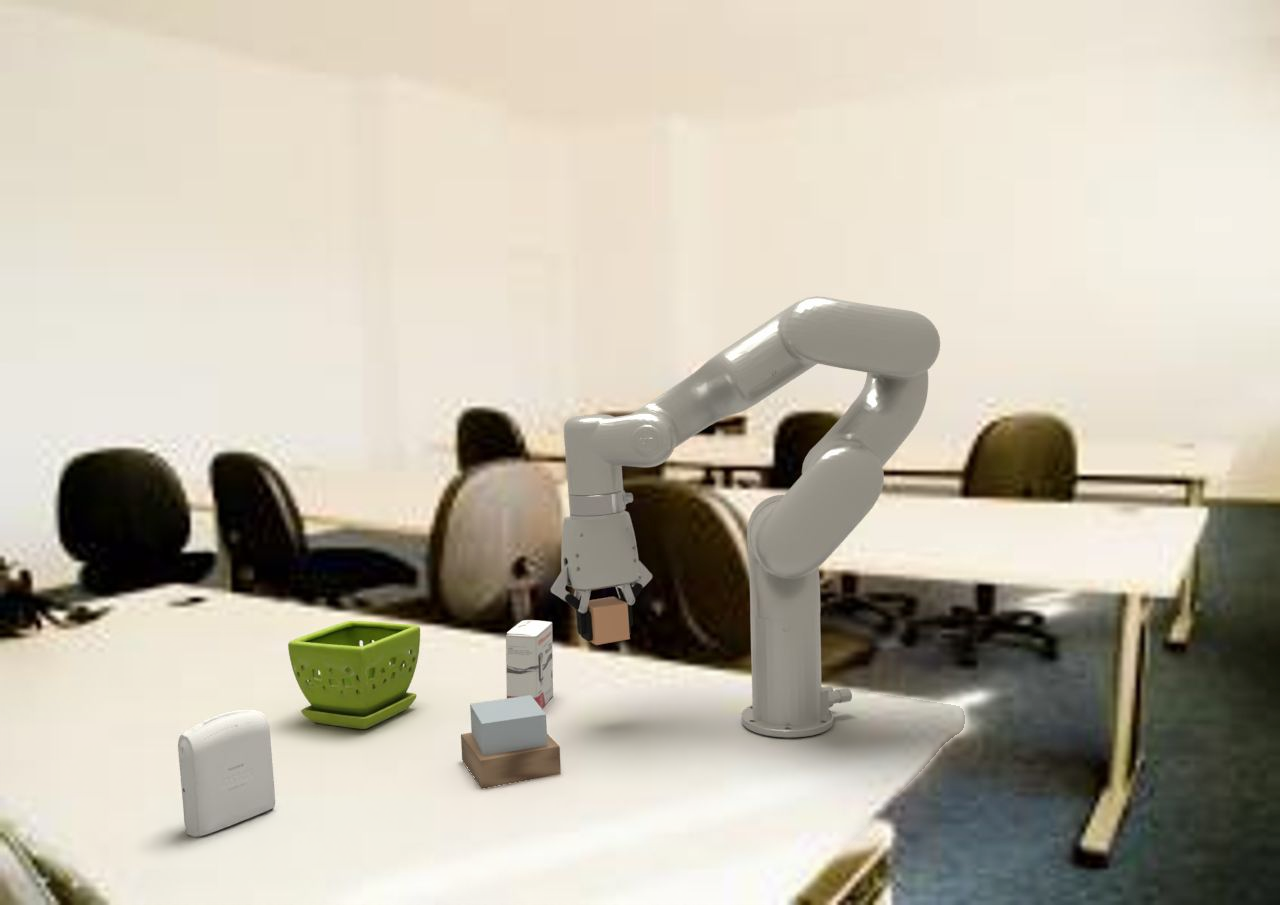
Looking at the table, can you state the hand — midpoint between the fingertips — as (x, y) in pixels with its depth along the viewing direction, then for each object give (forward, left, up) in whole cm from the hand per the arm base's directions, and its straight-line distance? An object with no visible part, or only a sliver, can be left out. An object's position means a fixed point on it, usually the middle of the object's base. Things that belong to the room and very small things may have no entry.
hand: (605, 634), depth 147 cm
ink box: (+7, -14, -13) cm, 21 cm away
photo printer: (+50, +8, -13) cm, 52 cm away
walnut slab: (+17, +8, -14) cm, 23 cm away
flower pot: (+31, -21, -13) cm, 40 cm away
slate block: (+17, +8, -10) cm, 21 cm away
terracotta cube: (0, 0, -1) cm, 1 cm away
